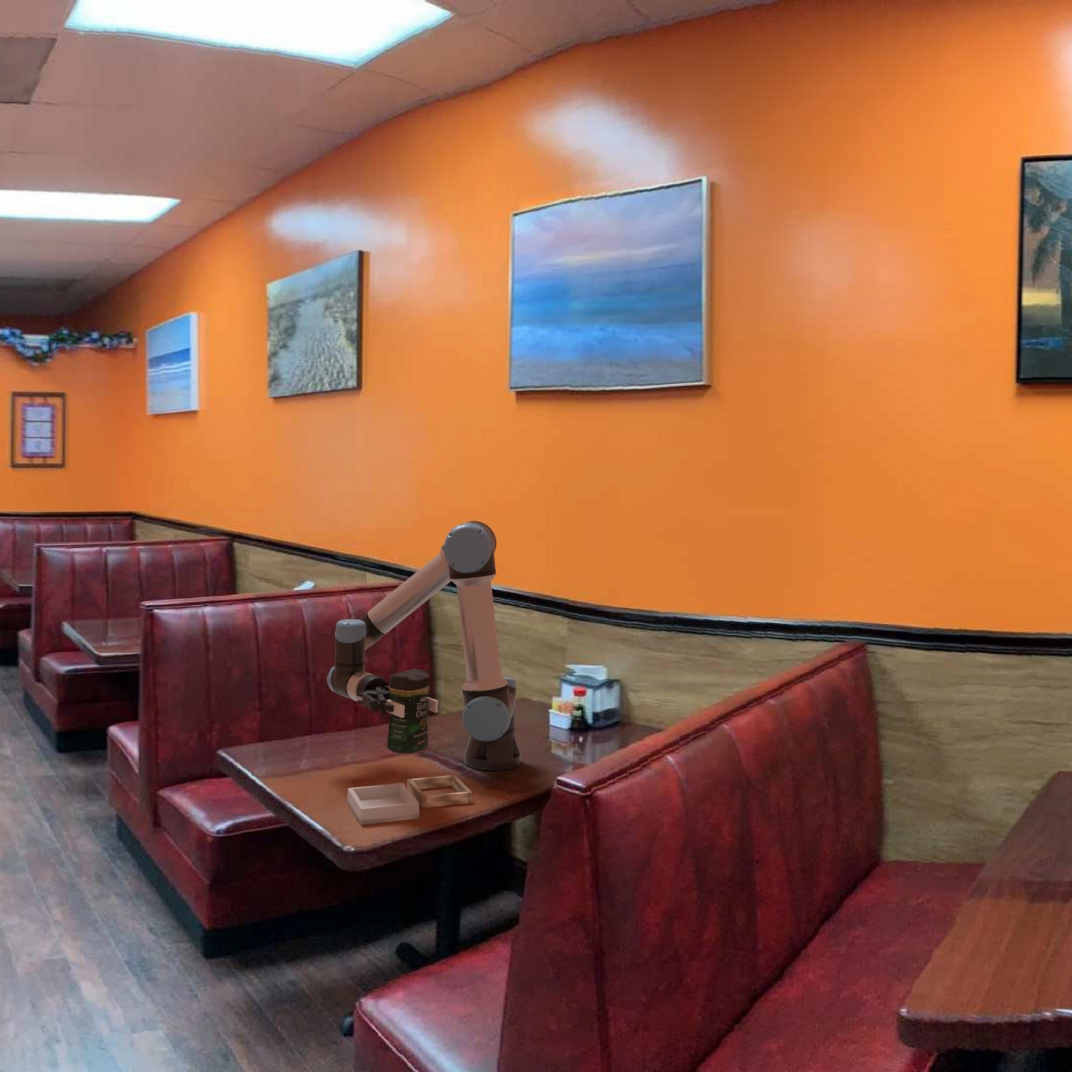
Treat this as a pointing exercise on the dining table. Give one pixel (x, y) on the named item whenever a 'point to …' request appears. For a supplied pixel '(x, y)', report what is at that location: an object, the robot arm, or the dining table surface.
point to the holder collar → (440, 799)
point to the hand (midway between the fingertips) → (419, 709)
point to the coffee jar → (409, 712)
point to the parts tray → (383, 803)
